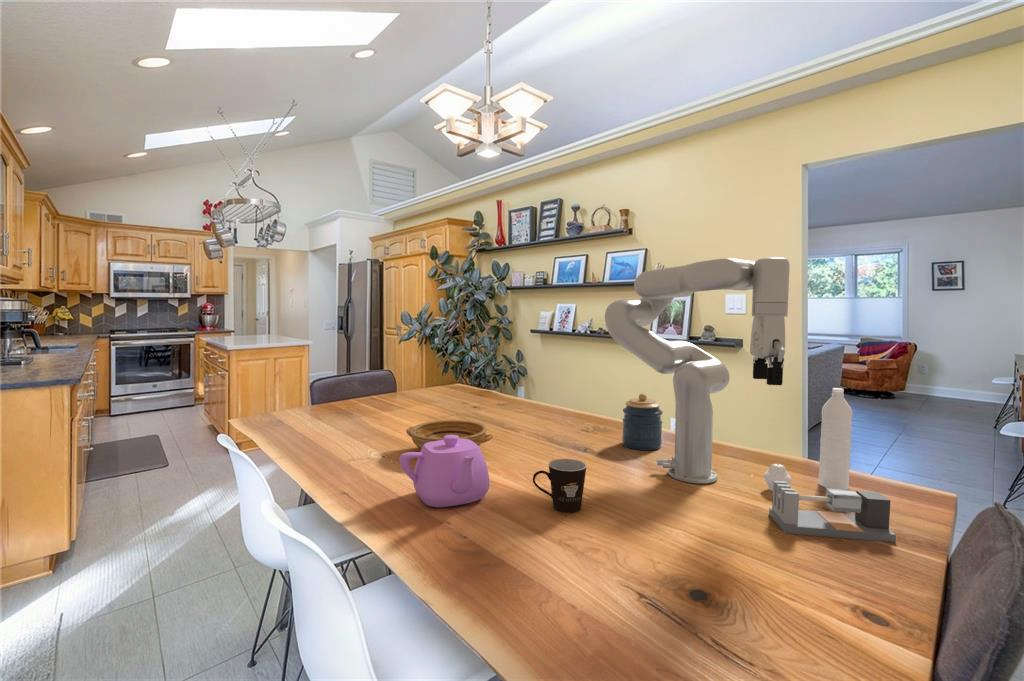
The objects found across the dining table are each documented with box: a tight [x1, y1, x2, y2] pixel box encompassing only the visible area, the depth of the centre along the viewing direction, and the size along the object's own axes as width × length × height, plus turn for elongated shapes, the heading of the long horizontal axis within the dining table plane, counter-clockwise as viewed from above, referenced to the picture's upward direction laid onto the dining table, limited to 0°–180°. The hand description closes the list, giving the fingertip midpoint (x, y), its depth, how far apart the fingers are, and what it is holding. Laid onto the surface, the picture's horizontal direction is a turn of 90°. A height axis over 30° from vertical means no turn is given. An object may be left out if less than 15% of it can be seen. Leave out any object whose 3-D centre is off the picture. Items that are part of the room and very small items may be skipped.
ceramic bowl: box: [406, 419, 494, 450], centre depth 148 cm, size 30×24×8 cm
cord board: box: [768, 481, 897, 543], centre depth 98 cm, size 20×9×8 cm, turn 80°
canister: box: [621, 393, 664, 451], centre depth 158 cm, size 13×13×18 cm
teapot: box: [398, 435, 491, 509], centre depth 110 cm, size 23×21×15 cm
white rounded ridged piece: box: [763, 463, 793, 492], centre depth 118 cm, size 6×6×7 cm
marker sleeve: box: [824, 488, 861, 514], centre depth 97 cm, size 5×4×3 cm
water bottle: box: [818, 387, 853, 490], centre depth 122 cm, size 9×6×25 cm
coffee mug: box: [532, 458, 587, 514], centre depth 108 cm, size 12×9×10 cm
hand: (766, 381), depth 113 cm, fingers open, 9 cm apart
